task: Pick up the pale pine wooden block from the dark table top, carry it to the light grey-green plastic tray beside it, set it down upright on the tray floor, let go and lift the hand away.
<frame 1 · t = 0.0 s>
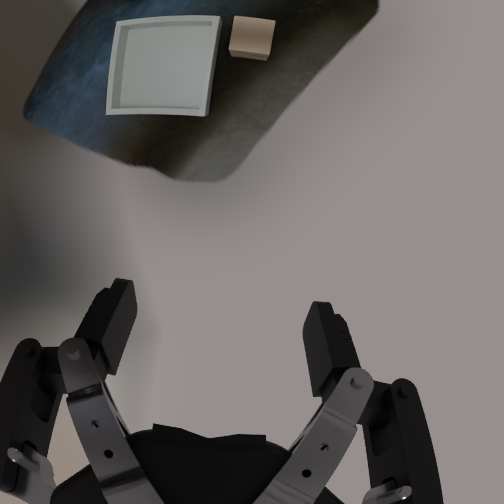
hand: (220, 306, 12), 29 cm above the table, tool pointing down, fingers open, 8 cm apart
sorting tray: (165, 65, 29), on the table
pine block: (251, 43, 28), on the table
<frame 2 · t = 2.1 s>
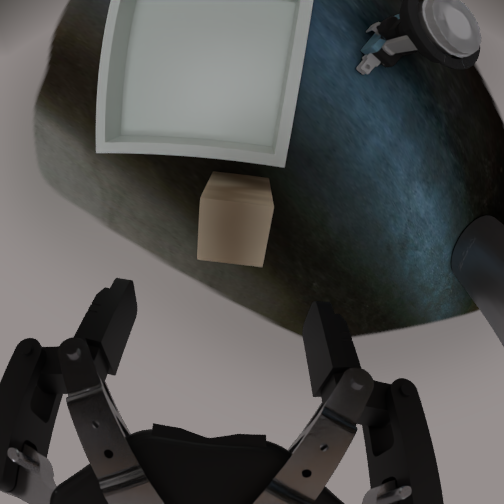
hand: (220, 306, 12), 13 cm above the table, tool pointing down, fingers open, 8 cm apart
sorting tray: (202, 63, 17), on the table
push button: (376, 45, 15), on the table
pine block: (237, 199, 23), on the table
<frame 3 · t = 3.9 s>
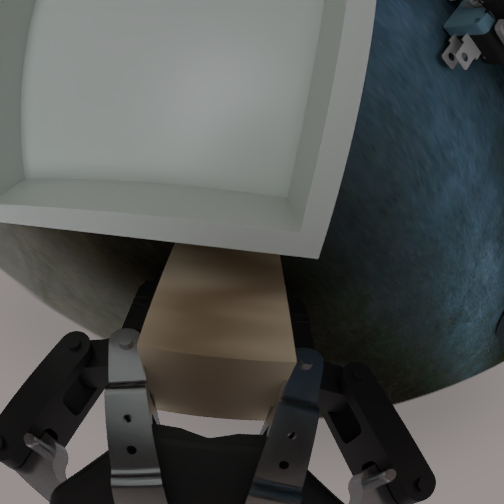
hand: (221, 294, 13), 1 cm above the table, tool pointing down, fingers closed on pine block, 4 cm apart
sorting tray: (150, 31, 7), on the table
push button: (462, 25, 6), on the table
pine block: (223, 282, 13), on the table, touching gripper
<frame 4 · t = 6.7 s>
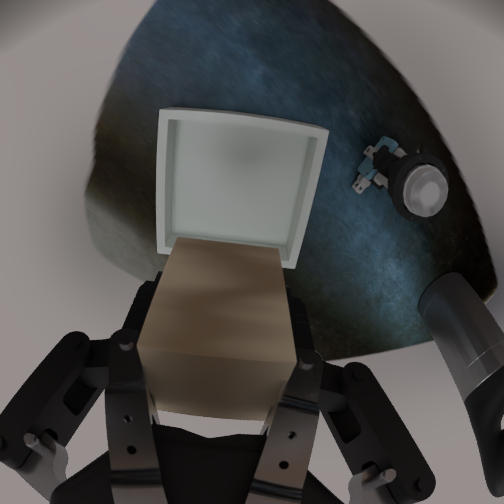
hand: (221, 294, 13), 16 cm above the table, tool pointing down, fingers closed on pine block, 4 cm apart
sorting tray: (235, 182, 26), on the table
push button: (370, 161, 25), on the table
pine block: (223, 282, 13), point 15 cm above the table, touching gripper
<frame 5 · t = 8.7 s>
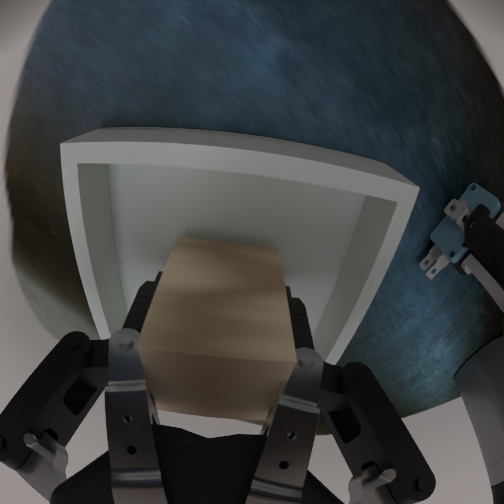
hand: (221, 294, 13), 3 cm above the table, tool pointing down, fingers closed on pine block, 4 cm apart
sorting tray: (226, 262, 15), on the table
push button: (448, 222, 14), on the table
pine block: (223, 281, 13), point 2 cm above the table, touching gripper
when the fingers open (2 cm above the table, at t = 10.0 s): pine block stays where it is, resting on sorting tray.
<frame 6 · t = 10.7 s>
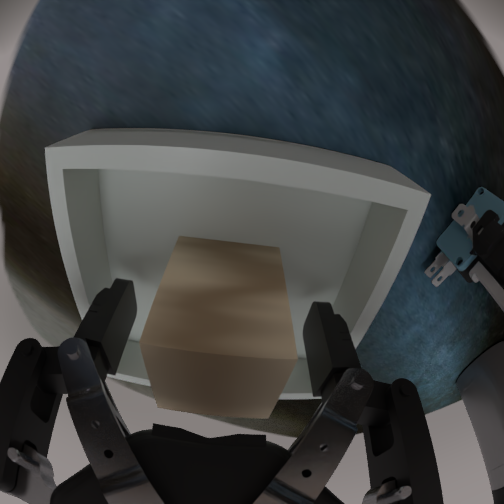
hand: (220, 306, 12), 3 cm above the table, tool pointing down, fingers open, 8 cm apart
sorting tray: (224, 270, 14), on the table
push button: (455, 227, 13), on the table
pine block: (224, 281, 13), point 1 cm above the table, touching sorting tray
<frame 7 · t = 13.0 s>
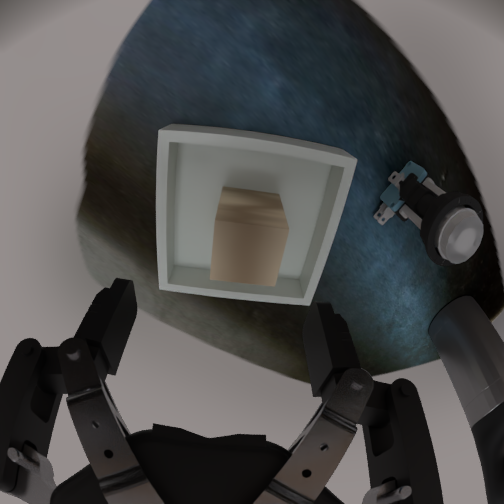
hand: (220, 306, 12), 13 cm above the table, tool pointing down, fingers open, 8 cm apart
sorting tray: (246, 211, 23), on the table
push button: (394, 188, 22), on the table
pine block: (247, 215, 23), point 1 cm above the table, touching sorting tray
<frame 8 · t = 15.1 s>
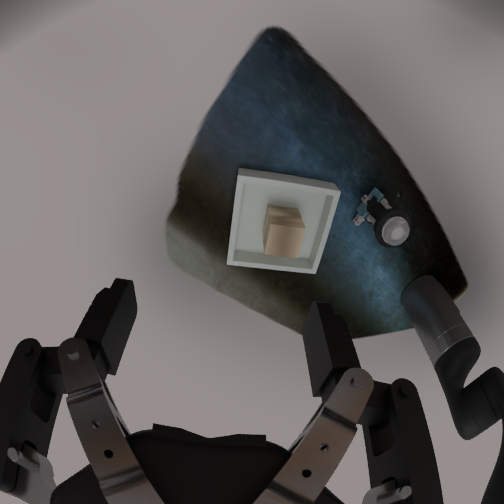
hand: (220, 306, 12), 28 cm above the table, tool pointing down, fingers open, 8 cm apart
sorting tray: (278, 218, 41), on the table
push button: (365, 204, 40), on the table
pine block: (280, 220, 40), point 1 cm above the table, touching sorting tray
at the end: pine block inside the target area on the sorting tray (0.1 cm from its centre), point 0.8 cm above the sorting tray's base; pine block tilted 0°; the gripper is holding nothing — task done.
